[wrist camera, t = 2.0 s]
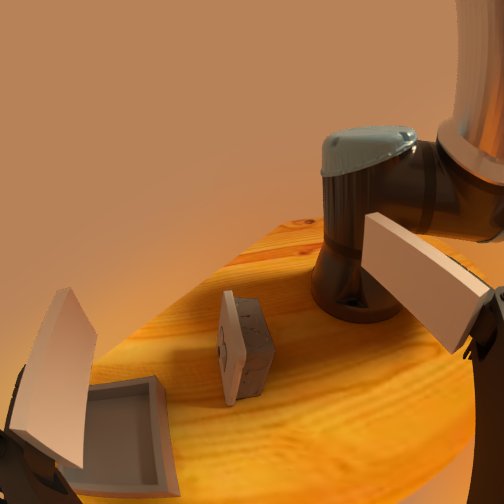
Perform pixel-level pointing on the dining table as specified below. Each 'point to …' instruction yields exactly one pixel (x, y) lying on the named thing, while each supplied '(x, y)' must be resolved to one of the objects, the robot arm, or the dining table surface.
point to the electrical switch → (243, 347)
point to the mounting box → (126, 443)
